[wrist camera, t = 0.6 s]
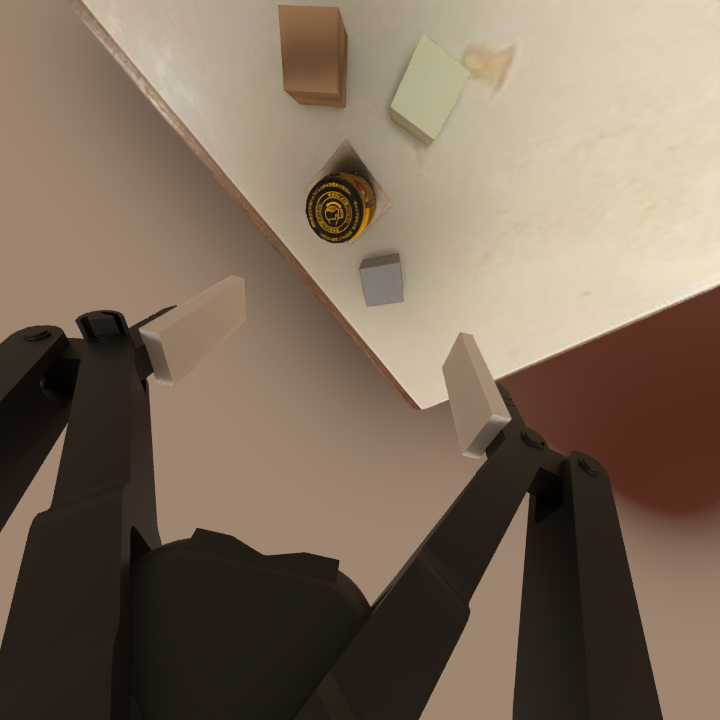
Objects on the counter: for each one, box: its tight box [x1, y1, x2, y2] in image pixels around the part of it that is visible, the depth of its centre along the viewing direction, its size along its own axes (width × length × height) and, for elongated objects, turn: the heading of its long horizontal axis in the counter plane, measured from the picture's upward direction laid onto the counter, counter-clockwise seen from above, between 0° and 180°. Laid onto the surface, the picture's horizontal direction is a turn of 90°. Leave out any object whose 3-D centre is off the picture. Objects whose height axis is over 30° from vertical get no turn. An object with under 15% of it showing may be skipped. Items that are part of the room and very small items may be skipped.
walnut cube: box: [278, 5, 347, 107], centre depth 25 cm, size 5×5×5 cm
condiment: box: [305, 139, 392, 245], centre depth 28 cm, size 7×8×12 cm
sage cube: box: [390, 33, 471, 146], centre depth 25 cm, size 5×5×5 cm
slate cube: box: [359, 254, 404, 307], centre depth 35 cm, size 5×5×5 cm
